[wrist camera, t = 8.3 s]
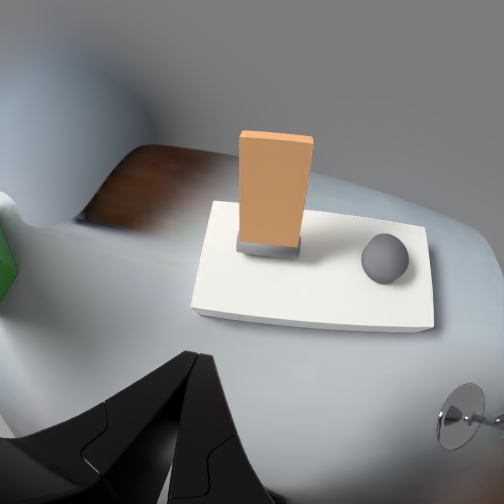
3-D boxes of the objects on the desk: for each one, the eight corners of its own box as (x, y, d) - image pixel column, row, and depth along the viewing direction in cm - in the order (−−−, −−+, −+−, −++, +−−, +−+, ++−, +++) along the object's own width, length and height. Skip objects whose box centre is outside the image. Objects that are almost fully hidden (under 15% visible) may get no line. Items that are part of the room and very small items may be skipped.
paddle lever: (297, 263, 19) (317, 145, 13) (236, 257, 20) (234, 137, 14) (298, 248, 21) (315, 136, 15) (239, 242, 21) (240, 129, 15)
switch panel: (416, 332, 20) (434, 326, 17) (199, 314, 22) (190, 306, 19) (410, 241, 24) (424, 227, 21) (218, 219, 25) (213, 200, 23)
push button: (402, 285, 19) (410, 279, 18) (361, 282, 19) (368, 275, 18) (399, 244, 20) (406, 236, 19) (360, 238, 21) (366, 230, 19)
